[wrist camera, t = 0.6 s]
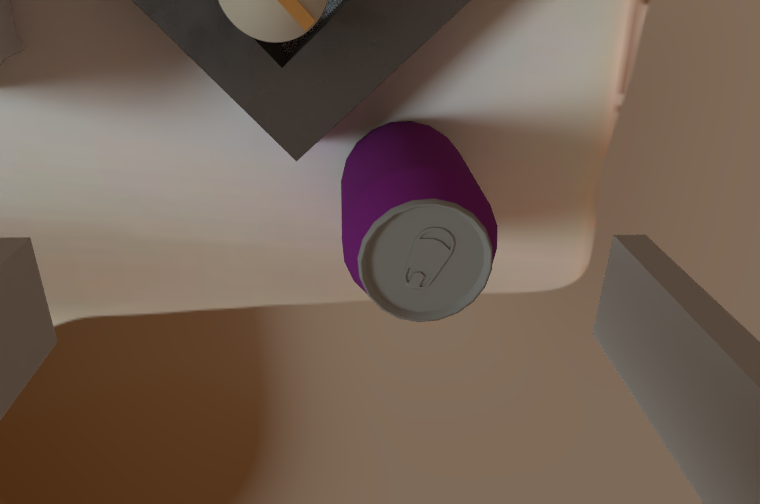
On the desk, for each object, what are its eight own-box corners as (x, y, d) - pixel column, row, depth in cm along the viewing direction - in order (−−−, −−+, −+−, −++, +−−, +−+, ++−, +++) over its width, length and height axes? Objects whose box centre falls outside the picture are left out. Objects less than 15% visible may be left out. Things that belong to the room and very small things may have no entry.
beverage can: (430, 247, 41) (463, 354, 30) (323, 207, 39) (317, 306, 28) (483, 144, 38) (540, 222, 27) (369, 96, 36) (382, 160, 25)
